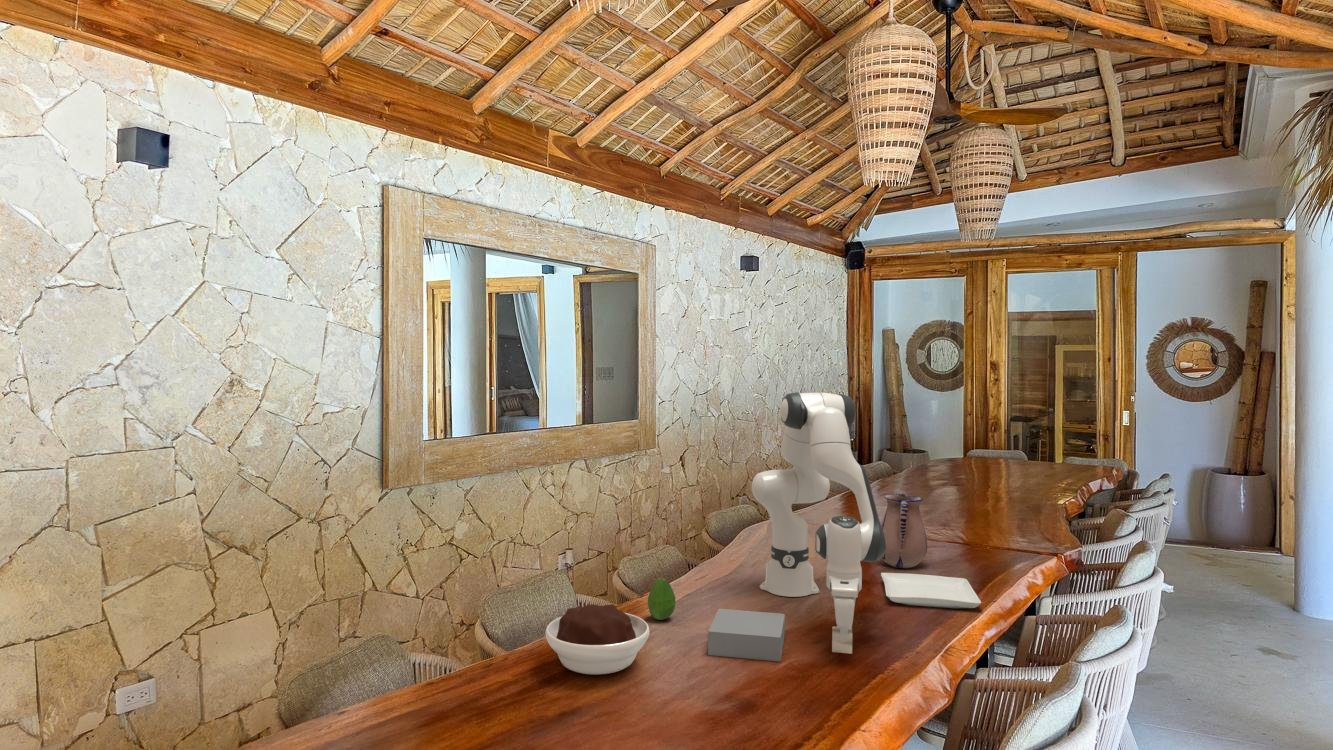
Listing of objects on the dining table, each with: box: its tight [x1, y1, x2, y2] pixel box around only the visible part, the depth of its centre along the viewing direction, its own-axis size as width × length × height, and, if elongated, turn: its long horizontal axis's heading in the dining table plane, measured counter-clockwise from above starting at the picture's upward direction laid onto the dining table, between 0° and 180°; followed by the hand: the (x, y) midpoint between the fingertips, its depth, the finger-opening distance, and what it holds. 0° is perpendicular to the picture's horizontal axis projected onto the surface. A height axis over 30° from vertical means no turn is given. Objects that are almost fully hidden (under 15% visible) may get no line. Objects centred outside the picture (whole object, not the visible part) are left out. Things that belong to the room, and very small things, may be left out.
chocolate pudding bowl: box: [545, 604, 650, 676], centre depth 190 cm, size 25×25×15 cm
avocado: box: [647, 577, 676, 621], centre depth 224 cm, size 8×8×12 cm
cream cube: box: [831, 625, 853, 655], centre depth 203 cm, size 5×5×5 cm
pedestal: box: [707, 608, 786, 662], centre depth 205 cm, size 18×18×6 cm
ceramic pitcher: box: [880, 493, 928, 569], centre depth 282 cm, size 18×21×25 cm
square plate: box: [880, 572, 982, 609], centre depth 248 cm, size 27×27×4 cm
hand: (843, 634), depth 203 cm, fingers open, 8 cm apart
